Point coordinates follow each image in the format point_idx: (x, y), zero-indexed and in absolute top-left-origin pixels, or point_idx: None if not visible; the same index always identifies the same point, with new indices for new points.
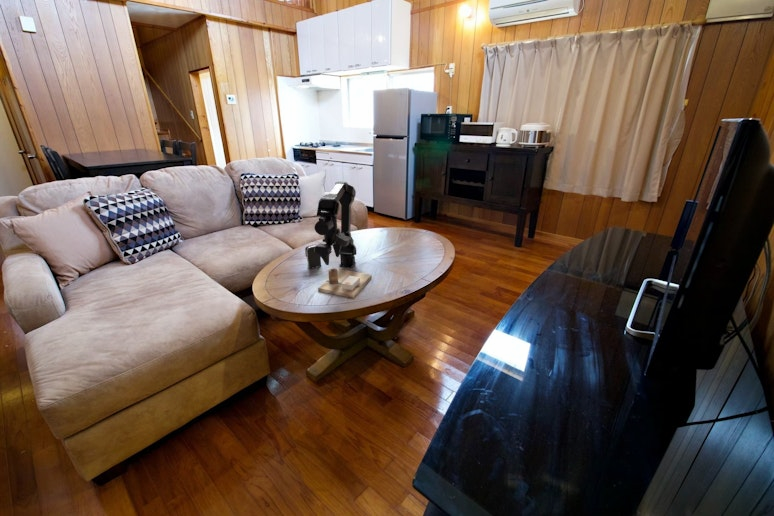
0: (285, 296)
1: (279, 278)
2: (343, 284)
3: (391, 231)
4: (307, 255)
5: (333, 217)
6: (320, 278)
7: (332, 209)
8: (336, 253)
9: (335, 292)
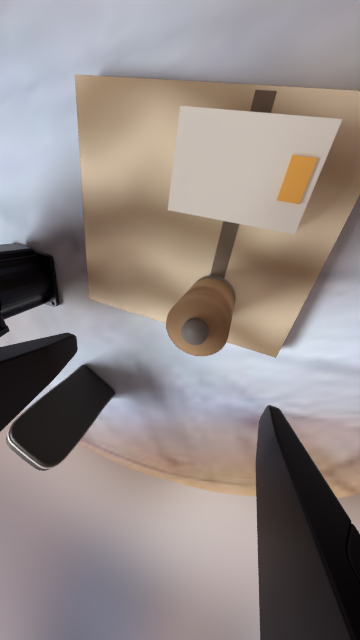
0: (318, 446)
1: (190, 457)
2: (299, 217)
3: None
4: (79, 439)
5: None
6: (165, 354)
7: None
8: (46, 370)
9: (321, 262)
